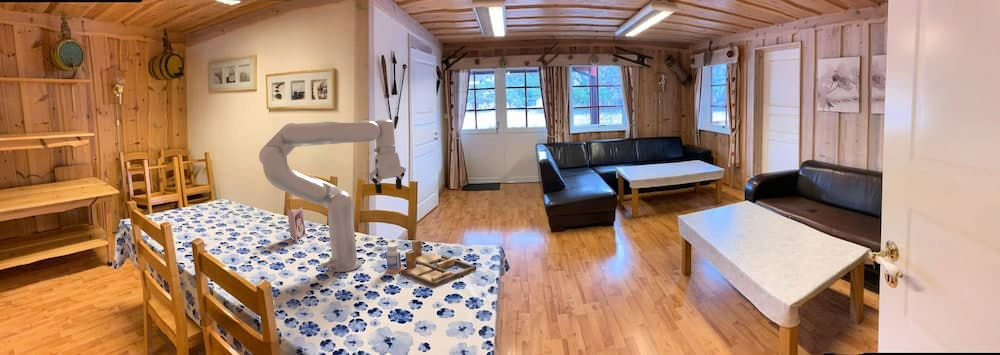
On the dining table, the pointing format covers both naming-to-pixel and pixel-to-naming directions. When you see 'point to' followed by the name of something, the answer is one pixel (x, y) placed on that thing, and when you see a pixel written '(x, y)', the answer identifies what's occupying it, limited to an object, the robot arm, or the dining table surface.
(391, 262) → the pill bottle
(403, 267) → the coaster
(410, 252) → the tan wooden block
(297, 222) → the greeting card
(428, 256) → the slat bottle lane
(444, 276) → the lane rails
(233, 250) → the dining table surface
